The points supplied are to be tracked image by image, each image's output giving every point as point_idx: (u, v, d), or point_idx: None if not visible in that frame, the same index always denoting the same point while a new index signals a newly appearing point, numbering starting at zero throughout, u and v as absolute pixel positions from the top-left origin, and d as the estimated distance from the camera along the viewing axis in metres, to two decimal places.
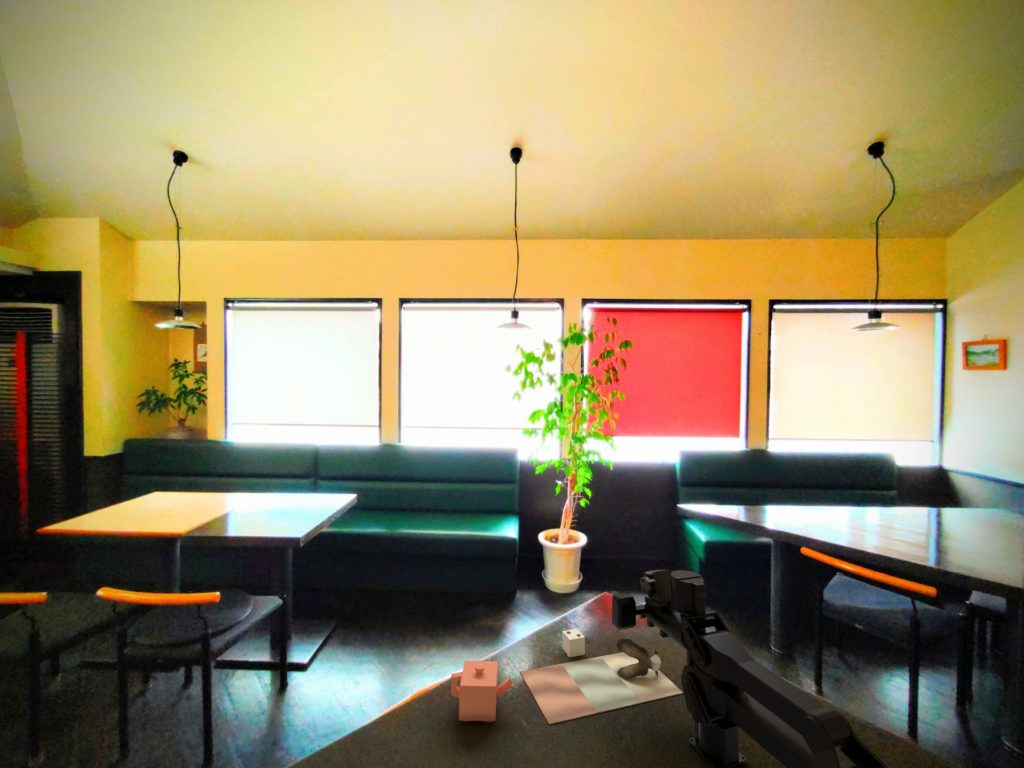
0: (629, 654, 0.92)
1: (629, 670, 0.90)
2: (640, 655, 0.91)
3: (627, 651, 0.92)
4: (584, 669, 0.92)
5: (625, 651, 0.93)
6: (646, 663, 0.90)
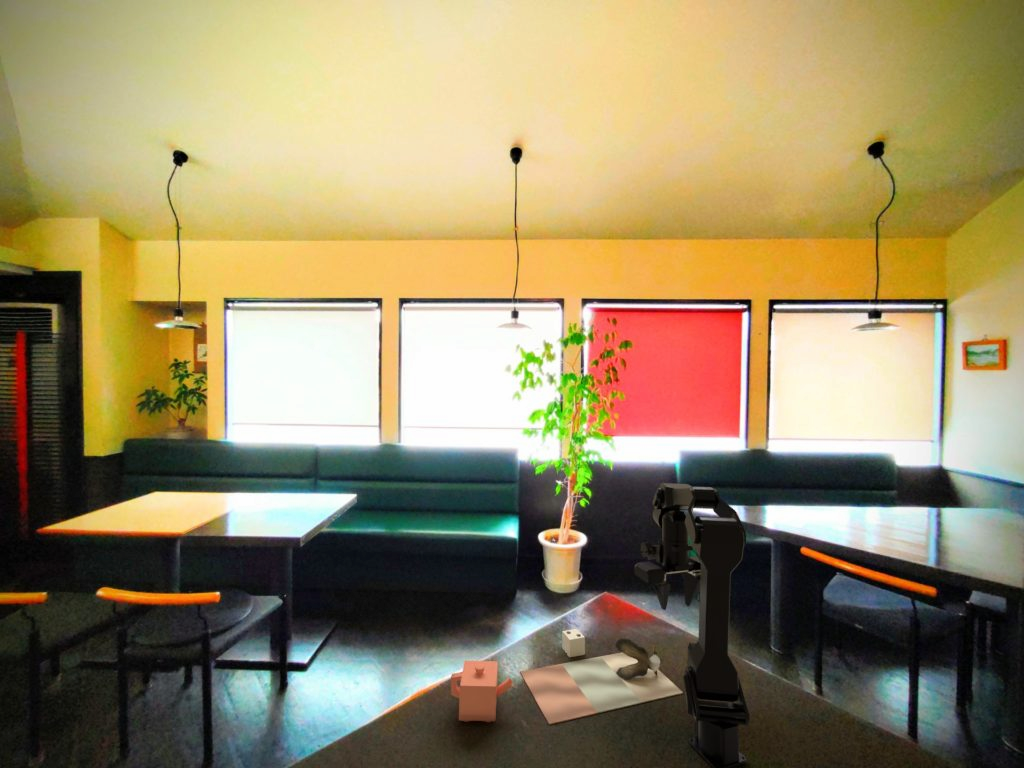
0: (628, 654, 0.92)
1: (628, 670, 0.90)
2: (639, 655, 0.91)
3: (626, 651, 0.92)
4: (584, 669, 0.92)
5: (624, 651, 0.93)
6: (645, 663, 0.90)
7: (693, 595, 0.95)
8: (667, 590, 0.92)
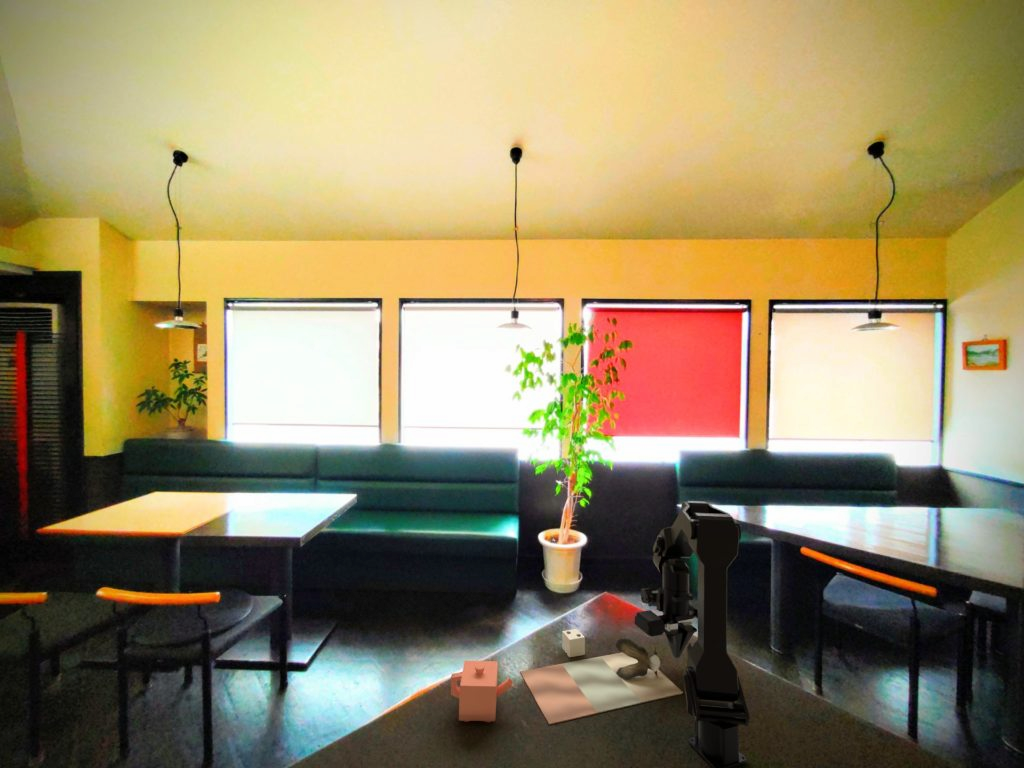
0: (628, 654, 0.92)
1: (628, 670, 0.90)
2: (639, 655, 0.91)
3: (626, 651, 0.92)
4: (584, 669, 0.92)
5: (624, 651, 0.93)
6: (645, 663, 0.90)
7: (682, 647, 0.93)
8: (679, 639, 0.92)
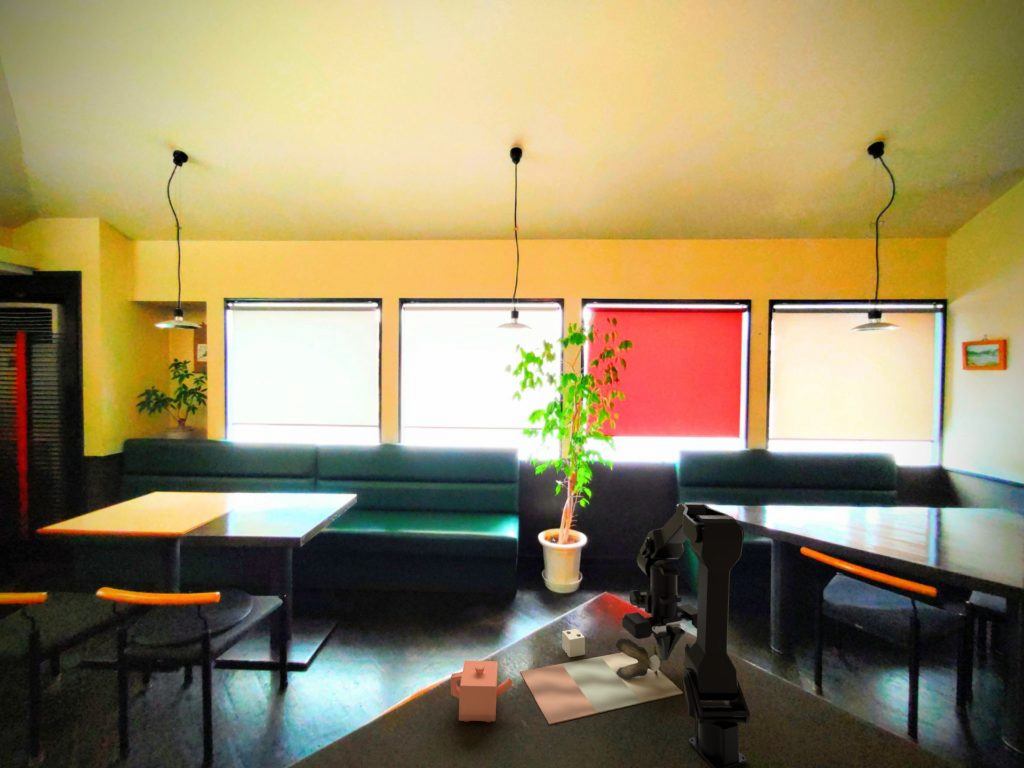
0: (628, 654, 0.92)
1: (628, 670, 0.90)
2: (639, 655, 0.91)
3: (626, 651, 0.92)
4: (584, 669, 0.92)
5: (624, 651, 0.93)
6: (645, 663, 0.89)
7: (670, 649, 0.92)
8: (667, 641, 0.91)
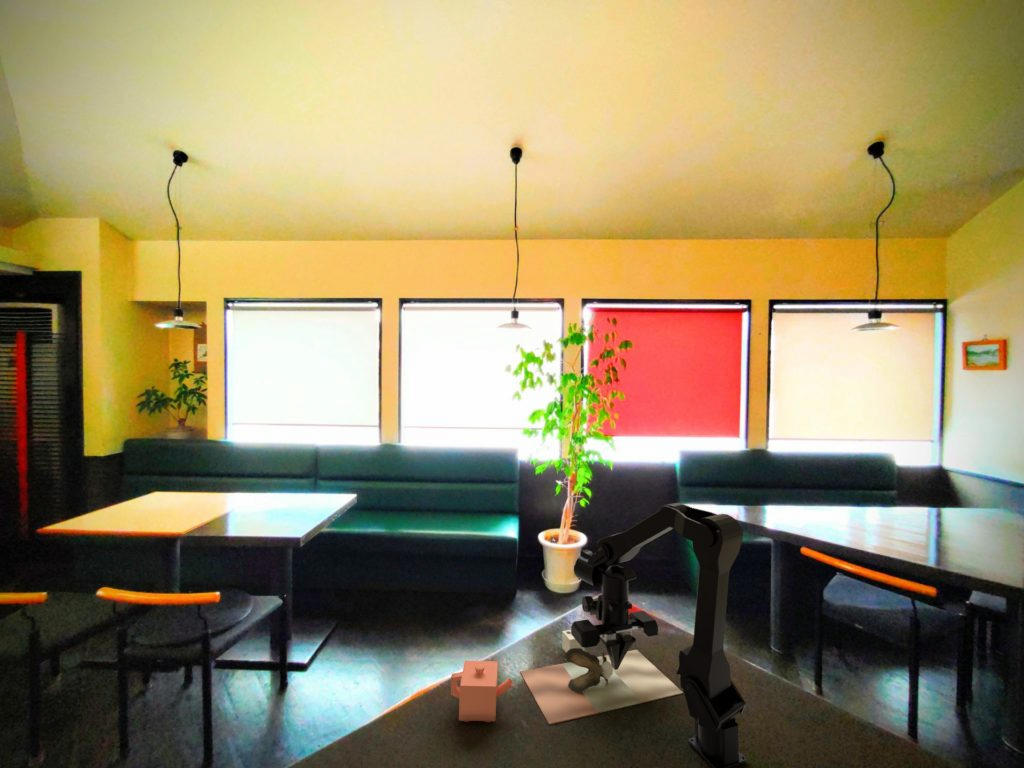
0: (579, 664, 0.88)
1: (581, 681, 0.85)
2: (591, 664, 0.87)
3: (577, 661, 0.88)
4: (584, 669, 0.92)
5: (575, 661, 0.89)
6: (597, 671, 0.86)
7: (620, 658, 0.88)
8: (617, 650, 0.87)
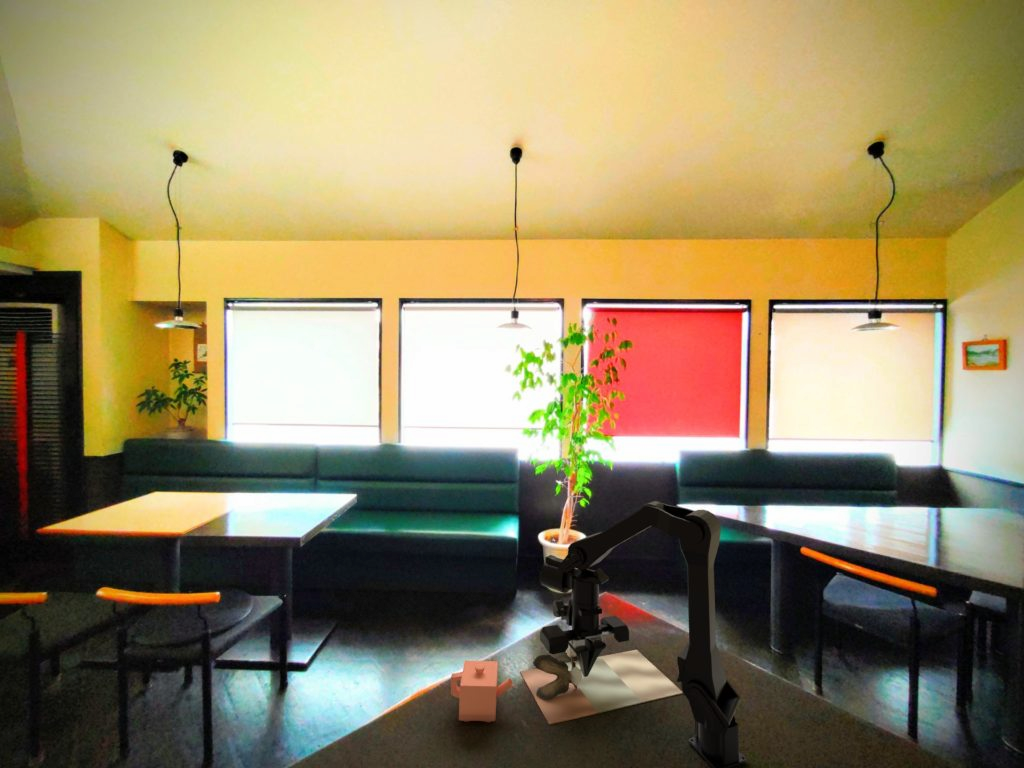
0: (548, 671, 0.86)
1: (549, 689, 0.83)
2: (560, 670, 0.85)
3: (546, 668, 0.86)
4: None
5: (543, 668, 0.86)
6: (566, 678, 0.84)
7: (590, 665, 0.86)
8: (586, 657, 0.85)
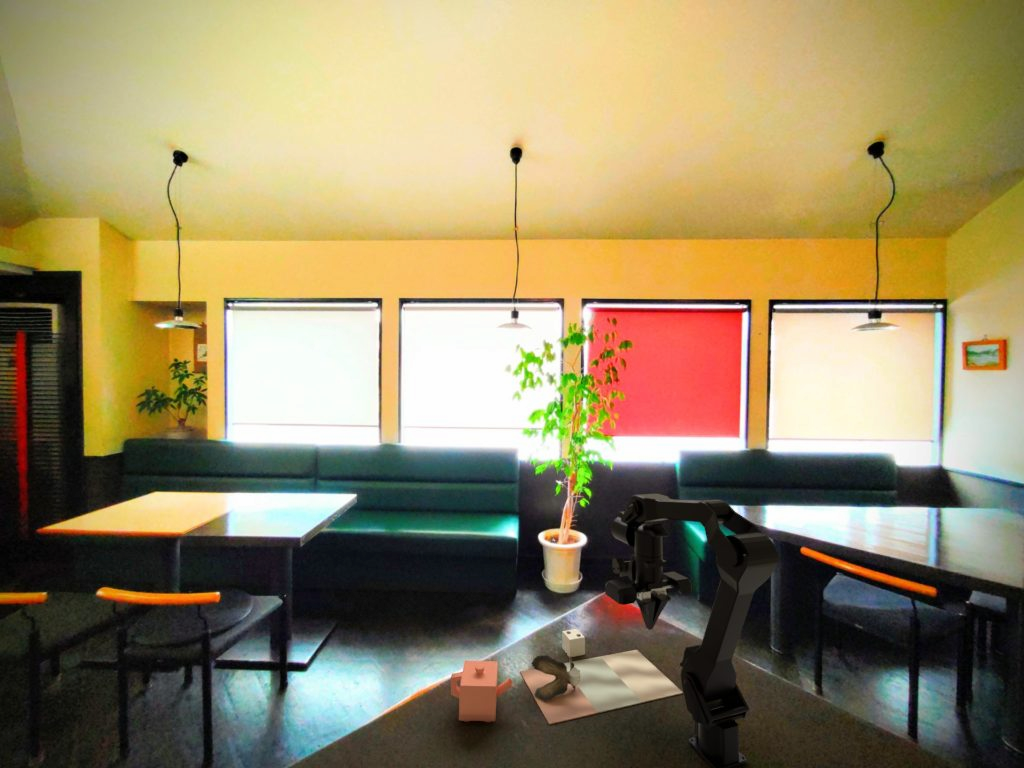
0: (546, 672, 0.85)
1: (548, 690, 0.83)
2: (558, 671, 0.85)
3: (544, 669, 0.85)
4: (584, 669, 0.92)
5: (542, 669, 0.86)
6: (565, 679, 0.84)
7: (656, 617, 0.87)
8: (652, 608, 0.86)
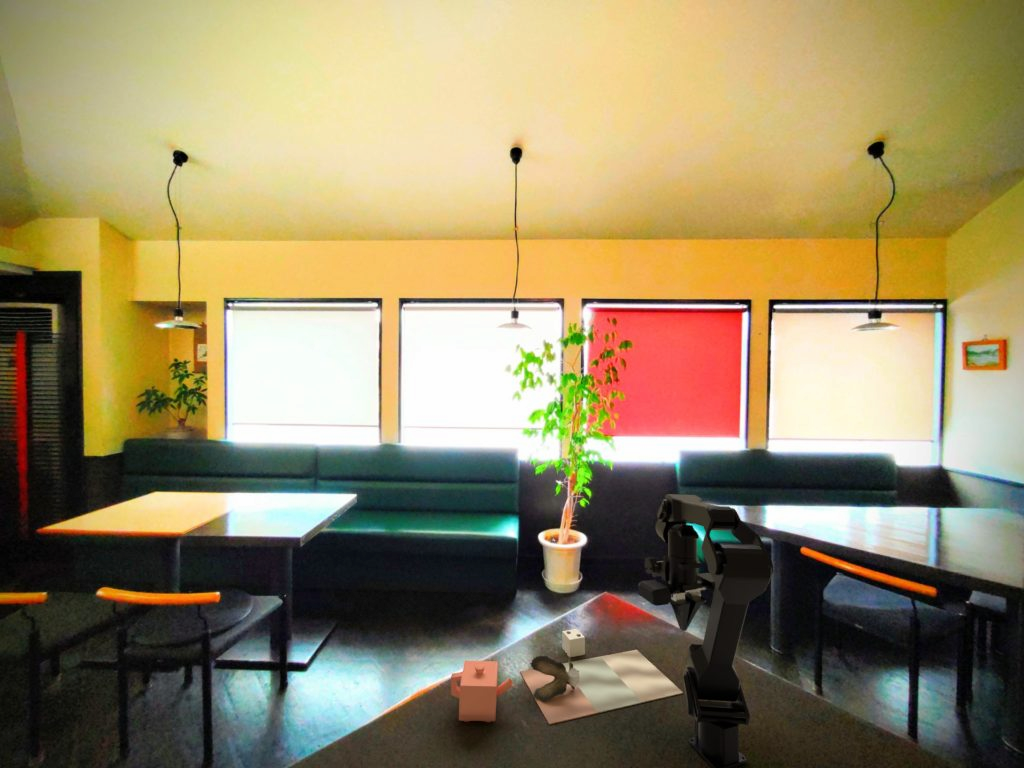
0: (545, 672, 0.85)
1: (547, 690, 0.82)
2: (557, 671, 0.85)
3: (543, 669, 0.85)
4: (584, 669, 0.92)
5: (541, 669, 0.86)
6: (564, 679, 0.84)
7: (690, 619, 0.86)
8: (686, 610, 0.85)
